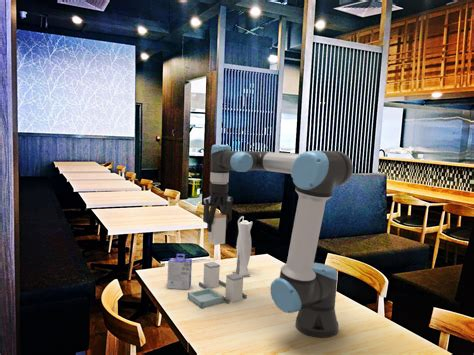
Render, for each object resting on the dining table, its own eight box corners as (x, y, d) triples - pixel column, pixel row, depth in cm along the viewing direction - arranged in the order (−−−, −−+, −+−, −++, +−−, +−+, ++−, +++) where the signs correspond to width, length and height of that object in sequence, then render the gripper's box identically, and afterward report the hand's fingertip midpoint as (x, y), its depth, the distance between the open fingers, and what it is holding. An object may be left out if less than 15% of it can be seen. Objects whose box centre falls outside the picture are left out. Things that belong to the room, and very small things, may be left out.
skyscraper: (231, 271, 201) (234, 216, 198) (246, 270, 204) (249, 215, 200) (236, 277, 193) (239, 219, 190) (252, 276, 196) (255, 219, 192)
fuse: (224, 243, 168) (226, 214, 166) (214, 245, 165) (215, 215, 163) (218, 240, 172) (219, 212, 170) (208, 241, 169) (209, 213, 167)
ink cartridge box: (191, 285, 181) (192, 253, 180) (189, 290, 176) (190, 257, 174) (169, 284, 181) (170, 252, 180) (166, 288, 176) (167, 256, 174)
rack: (246, 298, 170) (247, 275, 169) (227, 303, 164) (228, 280, 163) (216, 281, 187) (217, 260, 186) (198, 285, 181) (199, 264, 180)
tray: (223, 302, 165) (223, 296, 164) (201, 308, 158) (201, 302, 158) (209, 293, 173) (209, 287, 173) (187, 298, 167) (187, 292, 166)
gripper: (232, 180, 173) (229, 234, 176) (195, 182, 163) (193, 238, 166) (242, 183, 167) (239, 238, 170) (204, 184, 157) (202, 243, 160)
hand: (216, 238), depth 168 cm, fingers closed on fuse, 5 cm apart
